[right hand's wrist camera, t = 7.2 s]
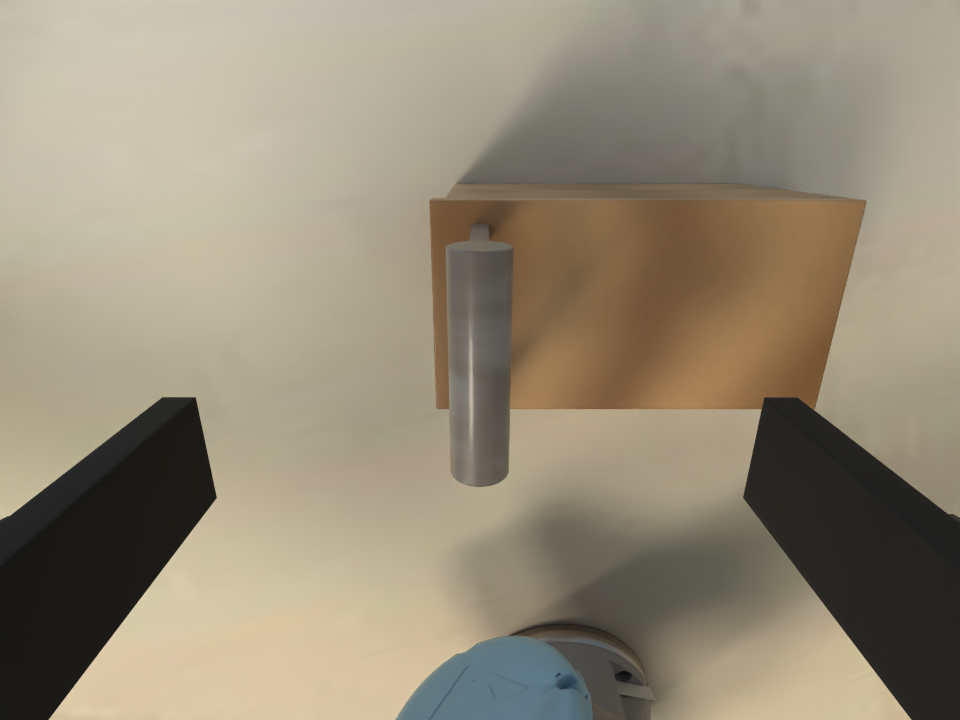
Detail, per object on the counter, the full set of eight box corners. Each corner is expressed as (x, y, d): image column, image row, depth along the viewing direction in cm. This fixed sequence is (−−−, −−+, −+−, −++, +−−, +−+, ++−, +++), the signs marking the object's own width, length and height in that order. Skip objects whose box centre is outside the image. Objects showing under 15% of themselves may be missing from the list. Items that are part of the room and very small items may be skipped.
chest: (457, 330, 36) (449, 399, 26) (455, 183, 33) (444, 198, 23) (713, 330, 36) (802, 399, 26) (737, 183, 33) (850, 198, 23)
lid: (437, 400, 26) (419, 506, 18) (431, 198, 23) (405, 223, 15) (802, 400, 26) (941, 507, 18) (851, 198, 23) (1046, 223, 15)
